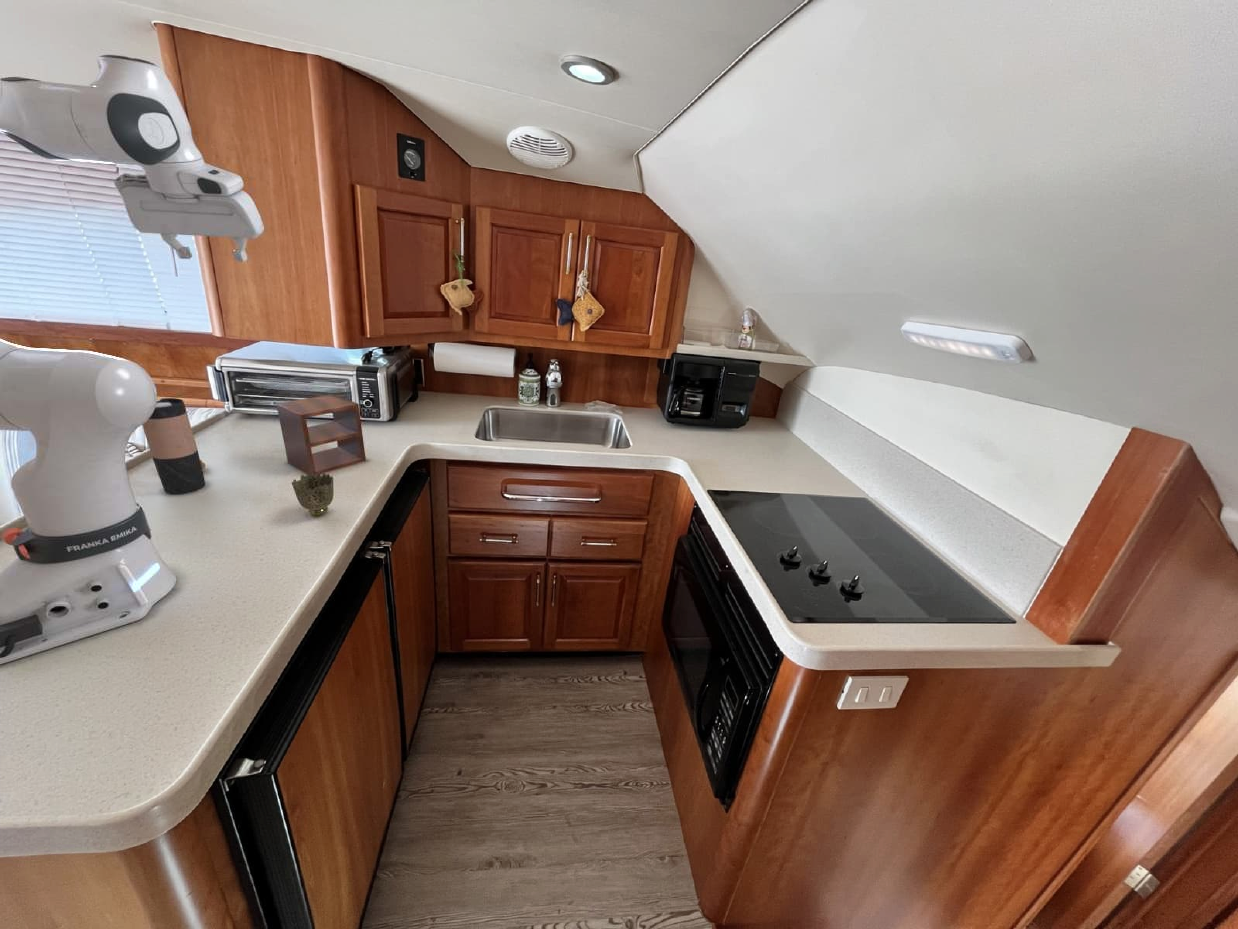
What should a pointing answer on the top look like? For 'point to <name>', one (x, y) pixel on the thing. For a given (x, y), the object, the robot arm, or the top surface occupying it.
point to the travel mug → (174, 447)
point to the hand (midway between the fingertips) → (214, 259)
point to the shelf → (322, 433)
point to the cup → (314, 492)
